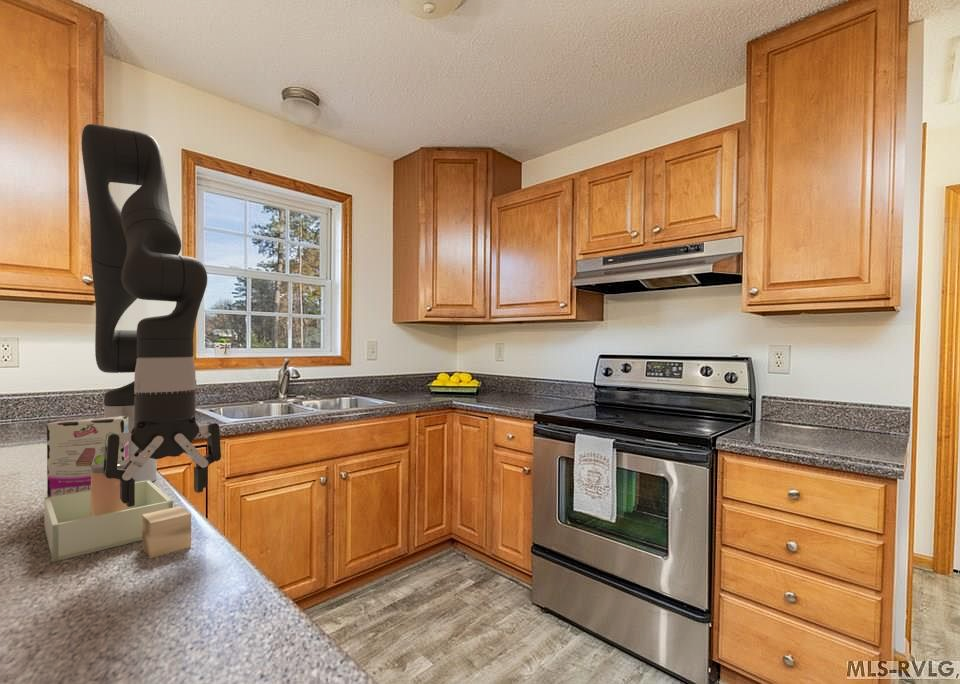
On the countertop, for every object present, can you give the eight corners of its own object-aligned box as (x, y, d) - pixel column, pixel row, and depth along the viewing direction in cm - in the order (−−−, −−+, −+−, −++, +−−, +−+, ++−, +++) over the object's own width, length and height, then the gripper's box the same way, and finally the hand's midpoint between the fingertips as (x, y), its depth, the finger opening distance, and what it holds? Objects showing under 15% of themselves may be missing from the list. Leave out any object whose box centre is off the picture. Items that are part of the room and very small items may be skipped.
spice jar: (101, 527, 75) (103, 461, 75) (137, 525, 76) (138, 460, 76) (81, 540, 70) (83, 469, 70) (120, 538, 71) (121, 468, 71)
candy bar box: (130, 498, 91) (130, 414, 91) (124, 506, 87) (124, 418, 87) (55, 508, 86) (55, 419, 86) (45, 517, 82) (45, 423, 82)
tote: (44, 528, 76) (44, 497, 76) (148, 506, 87) (149, 479, 87) (52, 562, 64) (52, 525, 64) (172, 532, 75) (172, 501, 75)
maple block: (142, 548, 69) (142, 514, 69) (181, 538, 73) (181, 505, 73) (150, 558, 66) (150, 523, 66) (191, 547, 69) (191, 513, 69)
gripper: (211, 384, 77) (211, 483, 77) (100, 390, 67) (100, 504, 66) (226, 386, 72) (226, 492, 71) (108, 393, 61) (108, 517, 61)
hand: (165, 498), depth 69 cm, fingers open, 8 cm apart
